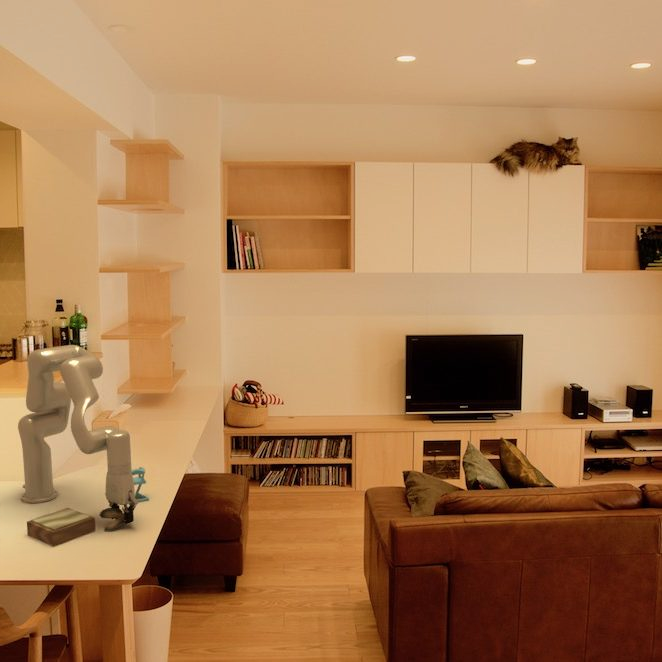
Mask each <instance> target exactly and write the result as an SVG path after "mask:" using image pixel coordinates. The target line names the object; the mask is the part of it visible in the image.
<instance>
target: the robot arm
mask: <svg viewBox="0 0 662 662" xmlns="http://www.w3.org/2000/svg"><path fill="white" fill-rule="evenodd" d="M27 370H28V379H27V380H28V381H27V388H26V394H25V407H26V409H27V410H28V411H30V412H31V413H29V414H25V415H23V416H22V417H21V418H20V419H19V421H18V422H17V423H18V424H17V430H18V434H19V437H20V440H21V448H22V449H21V450H22V459H23V460H22V462H23V476H24V484H23V485H22V488H23V489H24V493H23V494H22V495H21V497H20V499H21V501H22V502H24V503H29V504H39V503H45V502H49V501H51V500H53V499H56V498H57V497H58V496H59V492H58V490H57V489H54V481H53V480H54V478H53V462H52V449H51V447H50V445H49V444H48V442H46V441H45V438H47V437H51V436H54V435H58V434H59V435H60V434H61V433H64V432H65V430H66V429H67V427H68V424H69V418H70V431H71V434H72V436H73V439H74V441H75V443H76V445H77V447H78V449H79V451H81V453H83V454H84V455H85V454H86V455H93V454H97V453H100V452H102V451H106V459H107V460H106V461H107V463H106V464H107V472H106V474H105V475H106V476H105V493H104V495H105V498H106V500H107V502H108V503H109V504H108V506H109V508H113V509H121V508H120V506H123V508H124V509H125V512H123V513H124V519H125V523H124V524H125V525H129V524H132V523H133V522H134V517H135V516H134V511H135V508H137V507H136V506H137V505H138V504H139V502H137V500H138V499H136V491H135V485H134V482H133V478H134V475H133V476H132V473H131V472H132V470H133V469H132V451H131V435H130V432H129V431H127V430H122V429H119V428H117V427H116V426H114V425H106V426H104V427H103V426H102V427H98V428H95V429H91V430H88V428H87V425H86V422H85V414H86V411H87V410H88V409H89V408H90V407H92V406H93V405H94V404H96V402H97V401H98V400H99V398H100V395H99V393H98V390H97V388H96V386H95V384H94V381H93V380H96V379H99V378H100V377H101V376H102V374H103V373H104V371H103V370H104V367H103V364H102V362H101V360H100V359H99V357H98V356H96V355H95V354H94V353H92V352H90V351H89V350H87V349H84V348H83V347H81V346H79V345H77V344H76V345H75V344H68V345H60V346H53V347H47V348H40V349H35V350H32V351H31V352H30V354H29V355H28V358H27ZM55 372H59V373H60V376H61V378H62V381H63V382H61V381H59V382H58V381H57V382H55V374H54V373H55ZM72 403H73V406H74V407H73V410H72V413H71V417H70V410H71V405H72ZM127 501H129V502H127ZM111 520H115V518H111Z"/></svg>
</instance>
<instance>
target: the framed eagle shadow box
mask: <svg viewBox="0 0 662 662" xmlns="http://www.w3.org/2000/svg"><path fill="white" fill-rule="evenodd" d="M94 532H96V517H94V516H92V515H88V514H86V513H84V512H81V511H78V510H75V509H73V508H70V507H66V508H63V509H60V510H56V511H53V512H50V513H48V514H45V515H42V516H39V517H35V518H33V519H31V520H30V519H29V520H28V521H27V520H26V533H27V536H29V537H31V538H34V539H36V540H38V541H41V542H43V543H45V544H47V545H49V546H52V547H57V546H60V545H62V544H64V543H67V542H70V541H72V540H75V539H78V538H80V537H83V536H86V535H88V534H91V533H94Z"/></svg>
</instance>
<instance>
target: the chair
mask: <svg viewBox="0 0 662 662" xmlns="http://www.w3.org/2000/svg"><path fill="white" fill-rule="evenodd" d="M145 469H146V468H145V467H143V466H141V467H139V468H134V469H132V472H131V473H132V476H133V482H134V486H136V485H137V488H136V491H135V497H139V499H138V498H137V499H136V500H137V502H138V503H144V502H148V501H150V497H149V496H146V495H143V494H141V493H139V492H140V490H141V487H142V485H145V484H147V480H146V479H145V473H146V470H145ZM135 475H138V476H137V477H134V476H135ZM127 502H129V501H127Z"/></svg>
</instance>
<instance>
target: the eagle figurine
mask: <svg viewBox="0 0 662 662" xmlns="http://www.w3.org/2000/svg"><path fill="white" fill-rule="evenodd" d="M124 512H125V509H124V506H122V509H121V508H120V509H113V508H111V507H107V508H105V509H102V510H101V512H99V517H100V518H101V519H109V520H110V519H111V518H115V519H113V521H112V522H111V523H109V524H108V525H107V526H105V527H104V529H103V531H104V532H112V531H115V530H116V529H118V528H119V527H120V526H121V525H124V524H125V519H124ZM111 520H112V519H111Z"/></svg>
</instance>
